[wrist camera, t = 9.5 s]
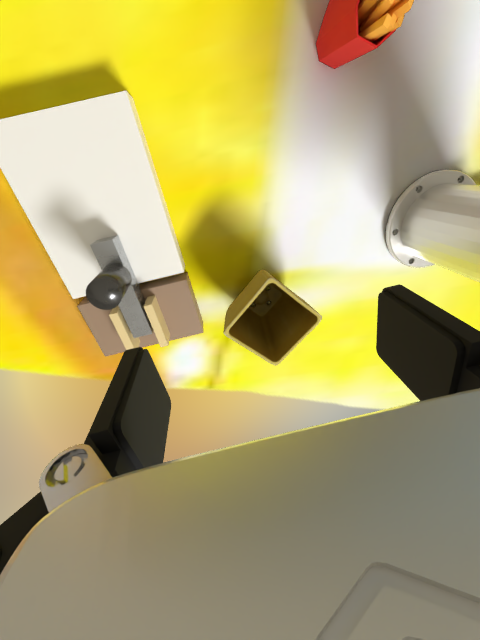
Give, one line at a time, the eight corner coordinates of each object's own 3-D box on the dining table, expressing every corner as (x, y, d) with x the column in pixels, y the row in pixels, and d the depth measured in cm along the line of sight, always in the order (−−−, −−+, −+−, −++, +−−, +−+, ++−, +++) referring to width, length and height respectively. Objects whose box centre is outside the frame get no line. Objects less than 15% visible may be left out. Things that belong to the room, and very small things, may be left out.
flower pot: (217, 302, 40) (221, 334, 33) (255, 254, 38) (270, 276, 30) (262, 331, 44) (276, 367, 36) (300, 289, 41) (324, 318, 33)
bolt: (121, 234, 31) (101, 250, 25) (158, 323, 37) (149, 356, 31) (93, 240, 31) (66, 259, 25) (134, 329, 37) (121, 363, 31)
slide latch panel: (132, 97, 28) (118, 82, 23) (202, 322, 42) (203, 343, 37) (-3, 128, 28) (-47, 120, 23) (111, 344, 41) (98, 369, 36)
